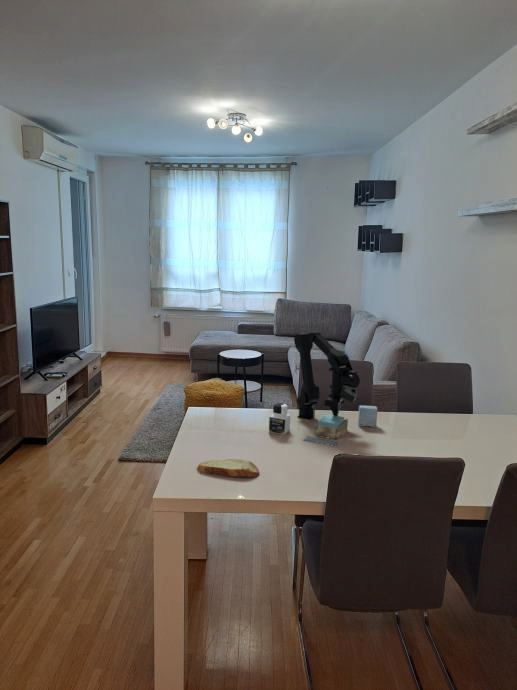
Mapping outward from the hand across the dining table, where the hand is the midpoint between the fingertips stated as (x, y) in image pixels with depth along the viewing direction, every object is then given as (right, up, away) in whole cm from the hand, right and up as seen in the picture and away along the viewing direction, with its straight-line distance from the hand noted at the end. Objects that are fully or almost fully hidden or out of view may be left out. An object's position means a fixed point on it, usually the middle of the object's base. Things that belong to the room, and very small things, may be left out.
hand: (335, 417), depth 229 cm
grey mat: (-8, -8, -15) cm, 18 cm away
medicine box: (+15, -5, +8) cm, 18 cm away
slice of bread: (-44, -13, -47) cm, 66 cm away
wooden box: (-2, -6, -4) cm, 7 cm away
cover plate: (-3, -2, -6) cm, 6 cm away
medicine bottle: (-25, -6, -4) cm, 26 cm away
